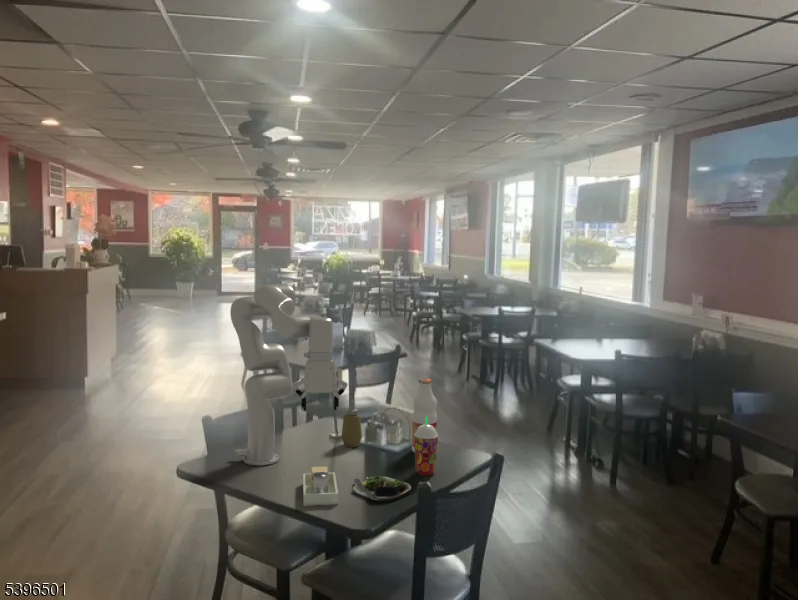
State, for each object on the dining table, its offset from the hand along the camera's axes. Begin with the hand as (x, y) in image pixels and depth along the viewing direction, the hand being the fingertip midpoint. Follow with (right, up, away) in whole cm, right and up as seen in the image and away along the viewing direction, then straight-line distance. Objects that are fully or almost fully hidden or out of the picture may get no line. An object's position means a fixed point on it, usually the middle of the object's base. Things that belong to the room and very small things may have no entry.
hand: (320, 409), depth 205 cm
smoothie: (+34, -26, +19) cm, 47 cm away
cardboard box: (0, -26, +2) cm, 26 cm away
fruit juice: (+35, -24, +42) cm, 59 cm away
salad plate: (+20, -27, +1) cm, 34 cm away
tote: (0, -27, -2) cm, 27 cm away
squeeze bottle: (+7, -23, +48) cm, 53 cm away
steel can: (+1, -26, -5) cm, 27 cm away
